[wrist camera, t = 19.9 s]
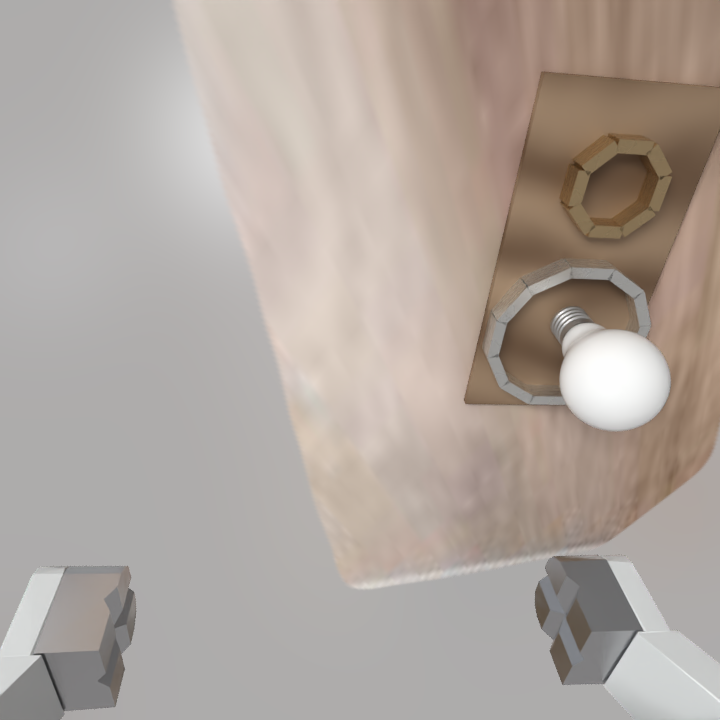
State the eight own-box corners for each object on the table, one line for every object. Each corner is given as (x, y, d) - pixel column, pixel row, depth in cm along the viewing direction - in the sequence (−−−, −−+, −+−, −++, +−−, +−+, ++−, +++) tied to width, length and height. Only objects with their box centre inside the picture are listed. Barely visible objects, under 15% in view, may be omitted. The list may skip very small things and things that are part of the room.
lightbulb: (623, 315, 43) (711, 409, 34) (552, 367, 45) (617, 468, 36) (579, 260, 40) (662, 347, 31) (505, 319, 42) (563, 416, 33)
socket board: (541, 71, 33) (554, 77, 32) (731, 88, 35) (752, 94, 33) (464, 400, 47) (470, 415, 45) (603, 401, 48) (614, 417, 47)
